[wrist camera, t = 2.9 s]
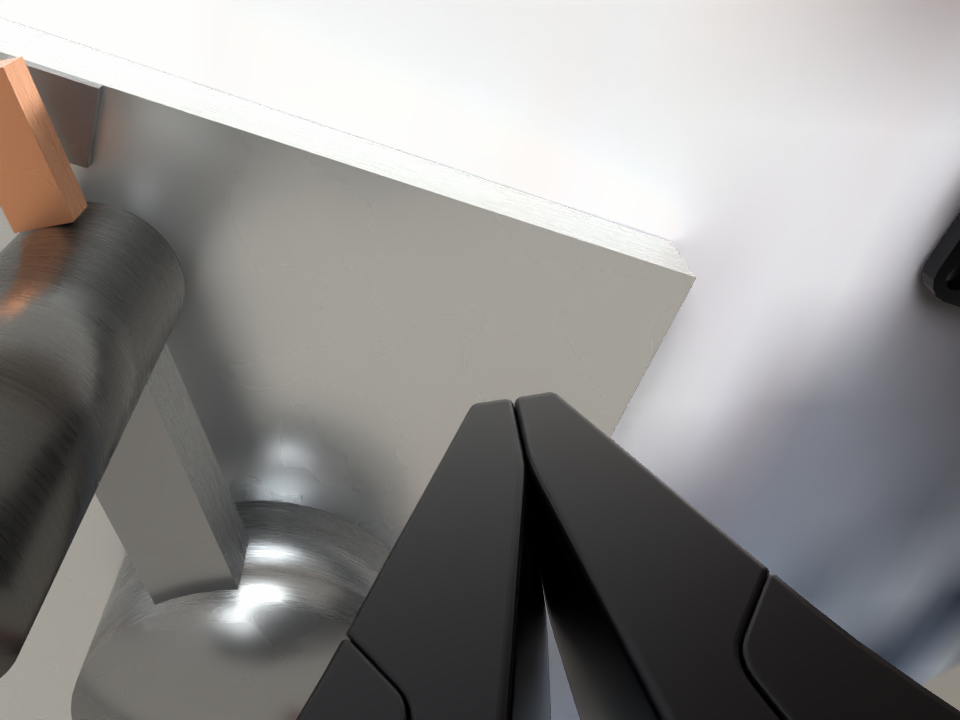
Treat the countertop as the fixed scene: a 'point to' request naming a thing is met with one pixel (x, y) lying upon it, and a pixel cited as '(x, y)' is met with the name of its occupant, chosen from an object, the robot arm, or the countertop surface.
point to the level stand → (329, 308)
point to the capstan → (141, 469)
